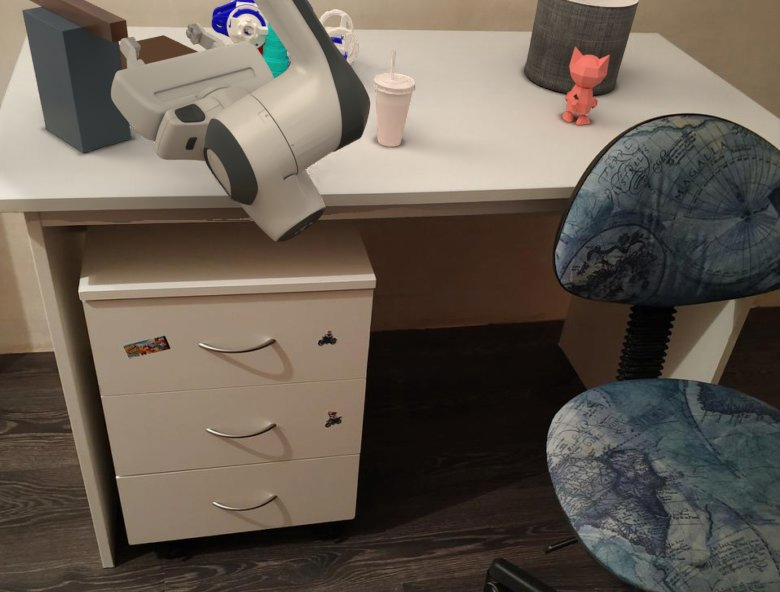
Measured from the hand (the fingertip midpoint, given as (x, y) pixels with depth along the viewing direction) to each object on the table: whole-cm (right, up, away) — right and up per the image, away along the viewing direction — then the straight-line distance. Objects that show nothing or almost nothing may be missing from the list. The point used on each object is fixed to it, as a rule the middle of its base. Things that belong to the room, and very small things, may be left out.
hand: (159, 34), depth 97 cm
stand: (-17, -5, +23) cm, 29 cm away
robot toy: (+9, +14, +48) cm, 51 cm away
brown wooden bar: (-14, +7, +11) cm, 19 cm away
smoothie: (+28, -4, +30) cm, 41 cm away
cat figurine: (+60, +4, +44) cm, 74 cm away
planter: (+63, +17, +59) cm, 88 cm away
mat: (-14, +14, +45) cm, 49 cm away
